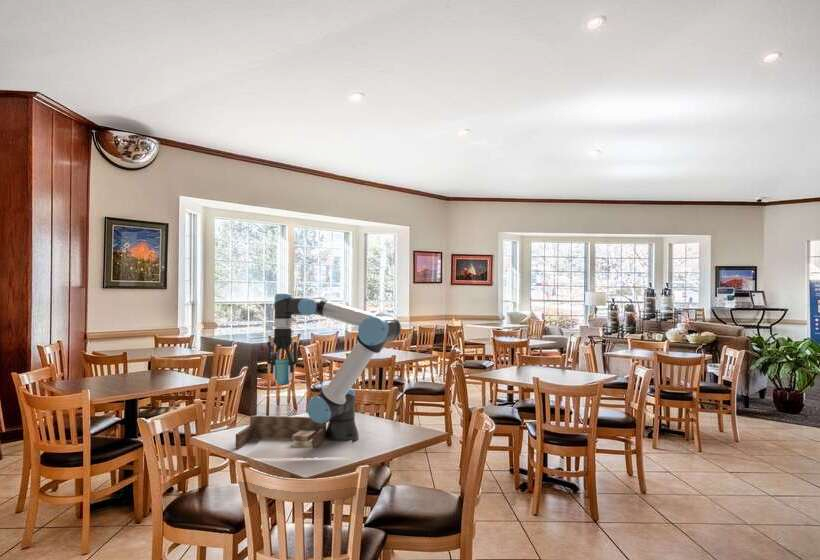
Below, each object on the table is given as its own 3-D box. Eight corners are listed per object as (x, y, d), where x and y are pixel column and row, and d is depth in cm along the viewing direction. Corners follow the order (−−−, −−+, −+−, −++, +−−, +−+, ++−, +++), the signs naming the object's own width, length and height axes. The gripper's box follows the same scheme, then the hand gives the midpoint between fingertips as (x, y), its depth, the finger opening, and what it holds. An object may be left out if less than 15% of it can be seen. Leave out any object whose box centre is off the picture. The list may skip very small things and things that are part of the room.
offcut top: (316, 435, 238) (316, 430, 238) (307, 441, 228) (307, 436, 228) (301, 434, 239) (301, 429, 239) (292, 440, 229) (292, 435, 229)
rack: (326, 439, 242) (326, 417, 242) (316, 451, 225) (316, 426, 225) (251, 437, 245) (251, 415, 245) (235, 448, 228) (235, 424, 228)
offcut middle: (316, 439, 239) (316, 434, 239) (311, 446, 228) (311, 441, 228) (298, 438, 239) (298, 434, 239) (292, 445, 228) (292, 441, 228)
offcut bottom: (318, 443, 240) (318, 438, 240) (310, 451, 227) (310, 447, 227) (298, 443, 240) (298, 438, 240) (289, 451, 227) (289, 446, 227)
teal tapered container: (276, 386, 234) (276, 352, 234) (263, 385, 238) (264, 351, 238) (298, 382, 246) (299, 349, 246) (286, 381, 250) (286, 348, 250)
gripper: (306, 327, 246) (305, 378, 245) (265, 327, 247) (264, 378, 247) (301, 328, 238) (301, 381, 237) (259, 328, 240) (258, 380, 239)
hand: (282, 379), depth 242 cm, fingers closed on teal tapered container, 6 cm apart
